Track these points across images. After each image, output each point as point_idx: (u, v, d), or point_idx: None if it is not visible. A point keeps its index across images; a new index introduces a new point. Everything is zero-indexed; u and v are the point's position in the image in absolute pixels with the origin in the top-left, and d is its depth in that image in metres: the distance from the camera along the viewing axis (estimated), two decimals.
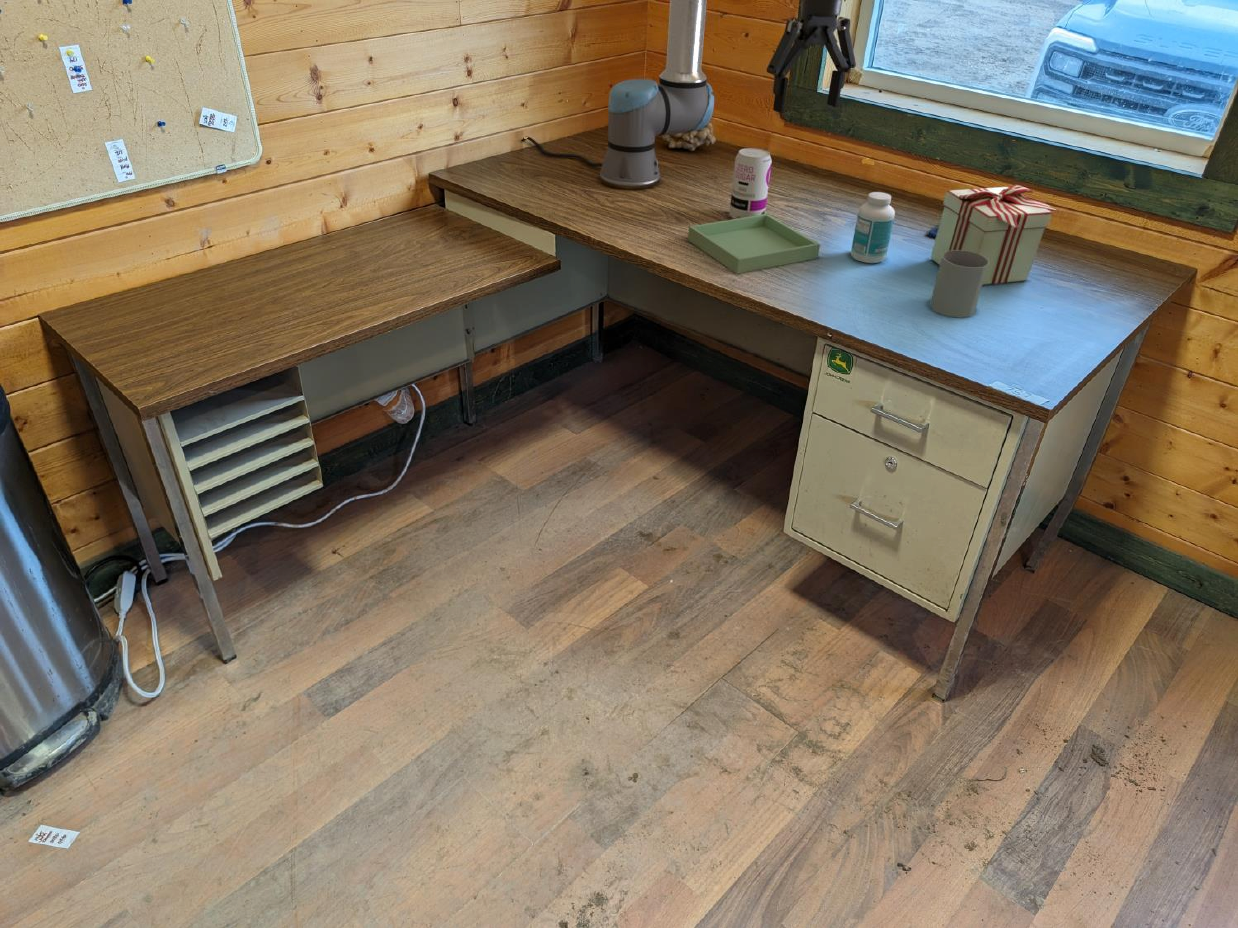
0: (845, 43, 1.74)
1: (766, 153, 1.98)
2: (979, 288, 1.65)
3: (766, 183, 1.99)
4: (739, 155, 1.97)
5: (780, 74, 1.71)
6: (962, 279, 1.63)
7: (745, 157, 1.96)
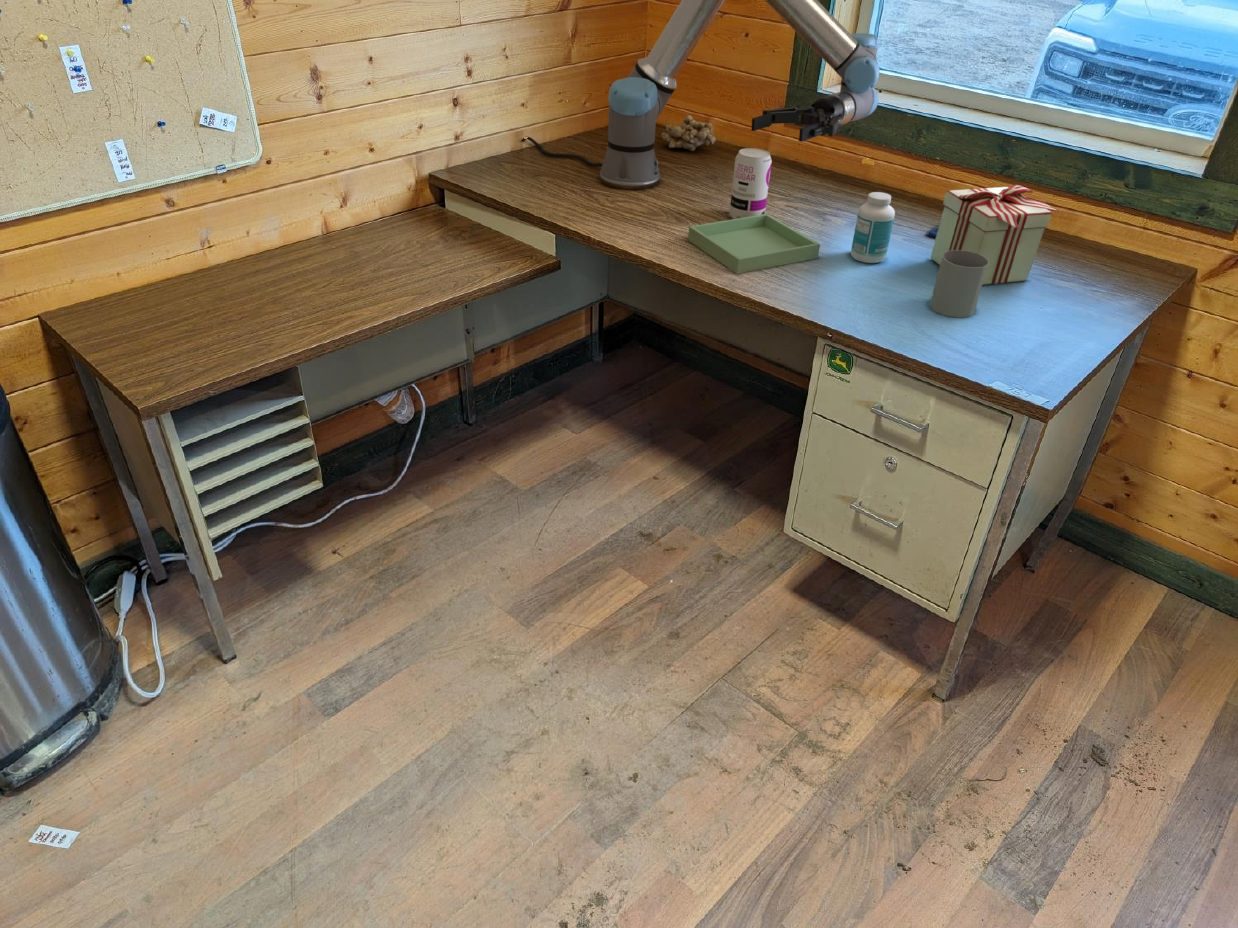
0: None
1: (766, 153, 1.98)
2: (979, 288, 1.65)
3: (766, 183, 1.99)
4: (739, 155, 1.97)
5: None
6: (962, 279, 1.63)
7: (745, 157, 1.96)
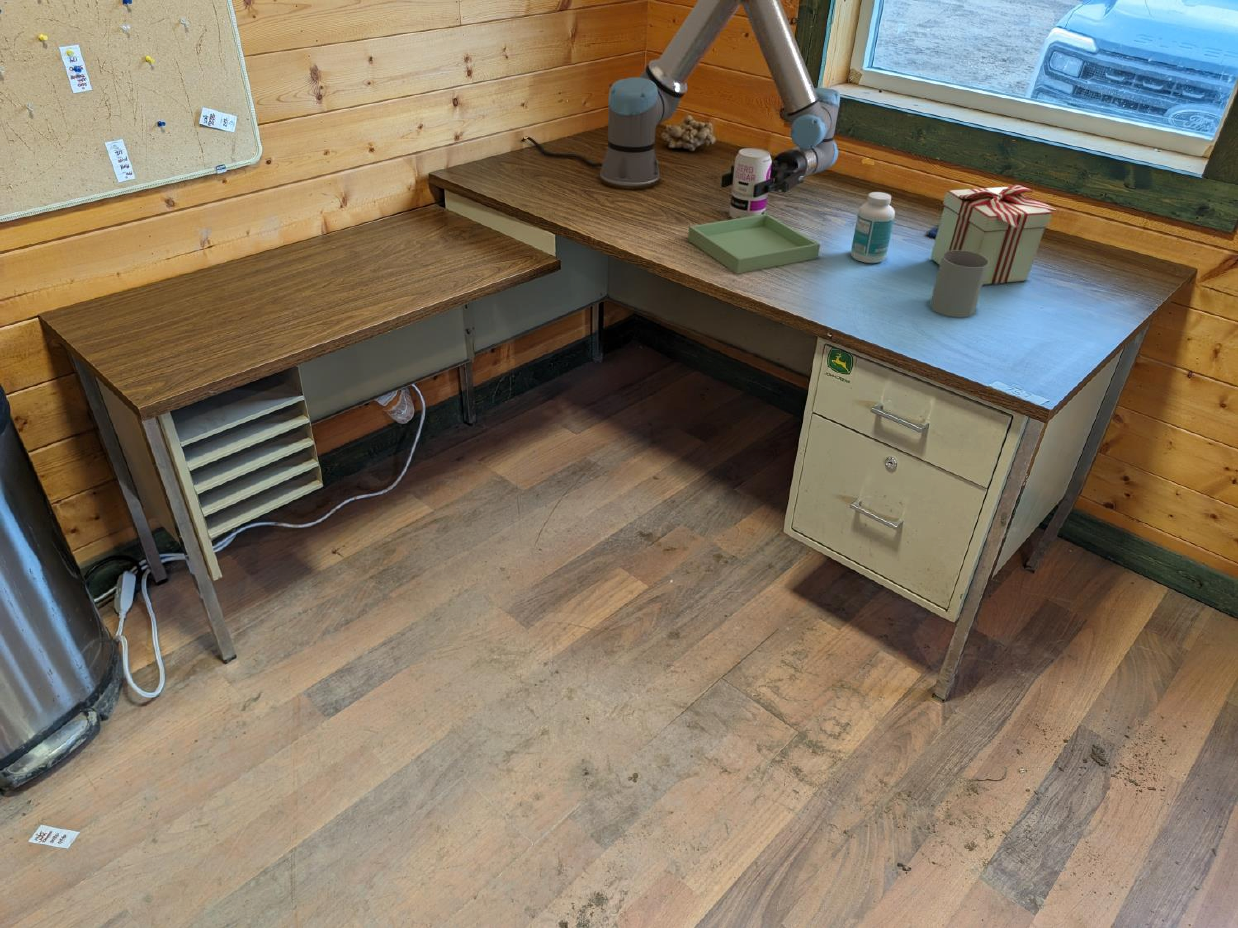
0: None
1: (766, 153, 1.98)
2: (979, 288, 1.65)
3: None
4: (739, 155, 1.97)
5: (777, 190, 2.00)
6: (962, 279, 1.63)
7: (745, 157, 1.96)
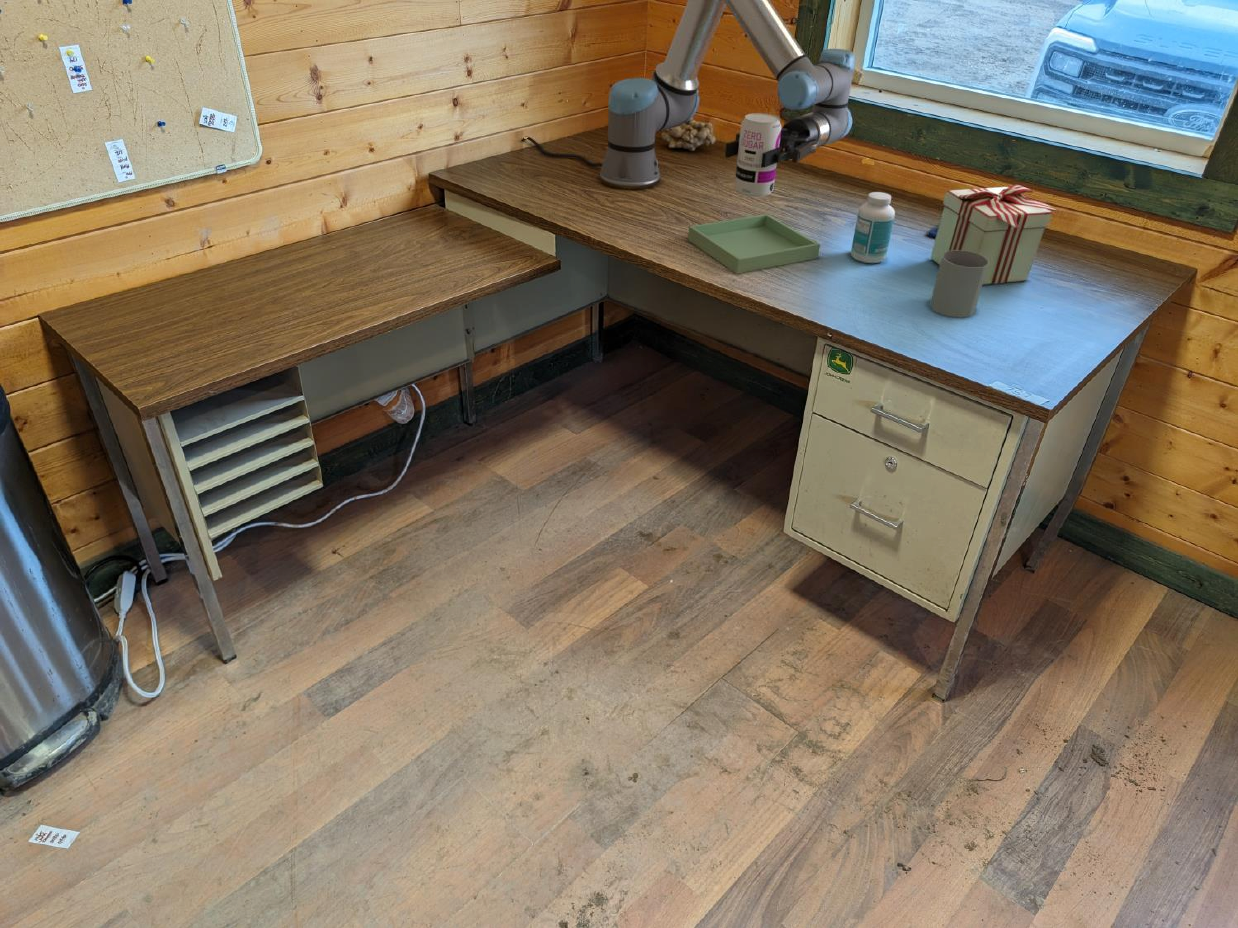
0: None
1: (775, 118, 1.79)
2: (979, 288, 1.65)
3: None
4: (746, 120, 1.77)
5: (788, 159, 1.81)
6: (962, 279, 1.63)
7: (752, 122, 1.76)
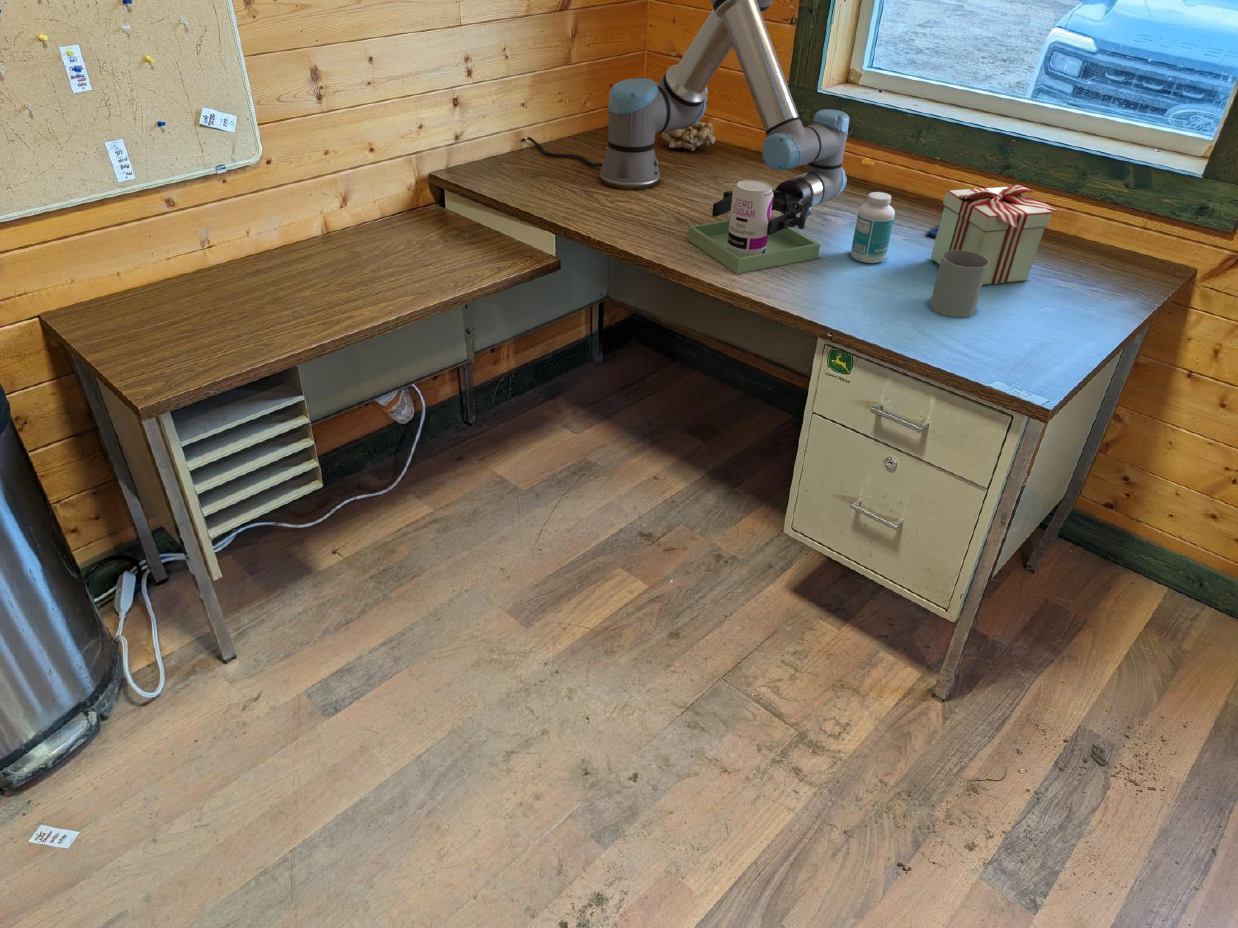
0: None
1: (767, 186, 1.78)
2: (979, 288, 1.65)
3: (767, 219, 1.79)
4: (737, 188, 1.77)
5: (794, 225, 1.80)
6: (962, 279, 1.63)
7: (744, 191, 1.75)
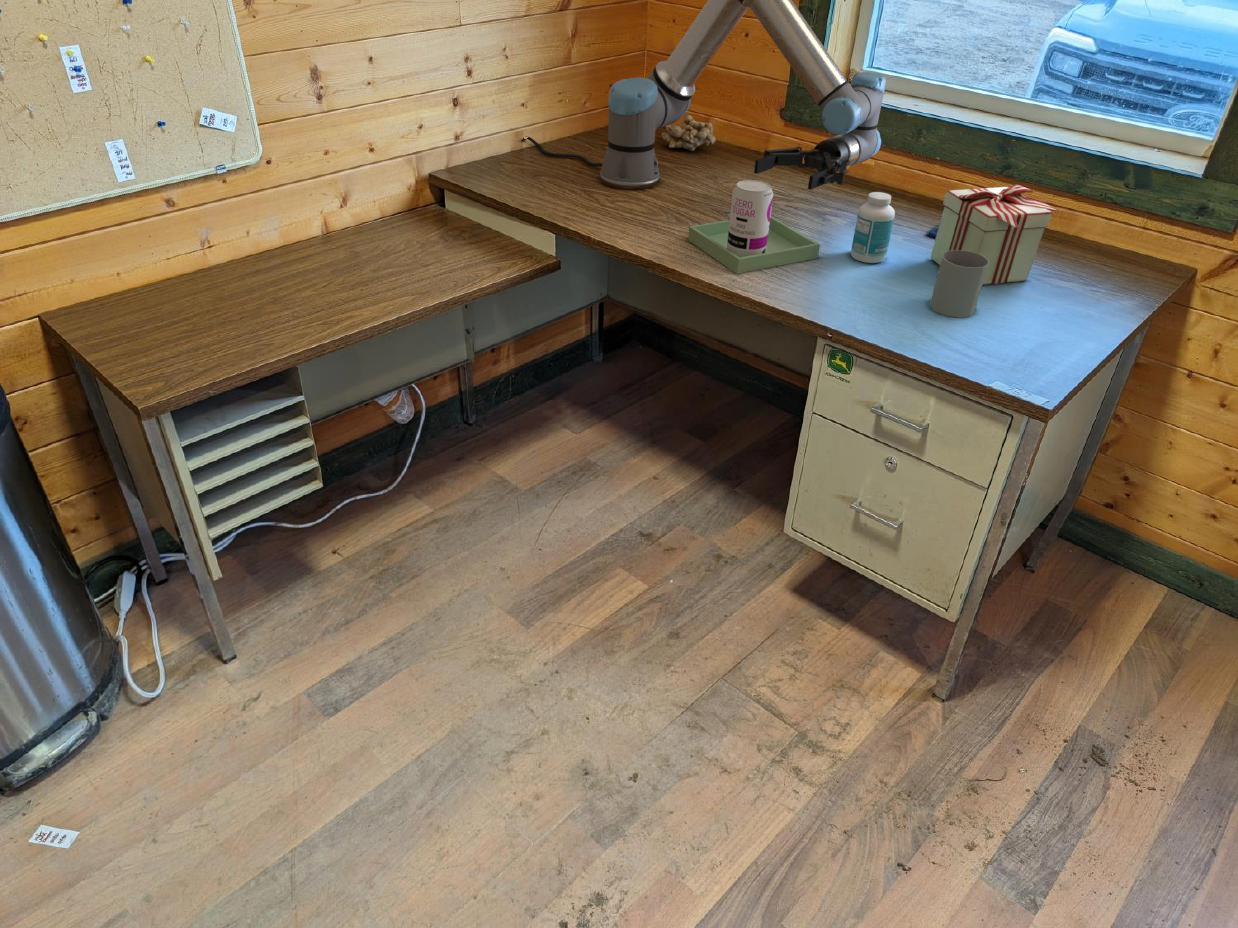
0: None
1: (767, 186, 1.78)
2: (979, 288, 1.65)
3: (767, 219, 1.79)
4: (737, 188, 1.77)
5: (833, 181, 1.87)
6: (962, 279, 1.63)
7: (744, 191, 1.75)
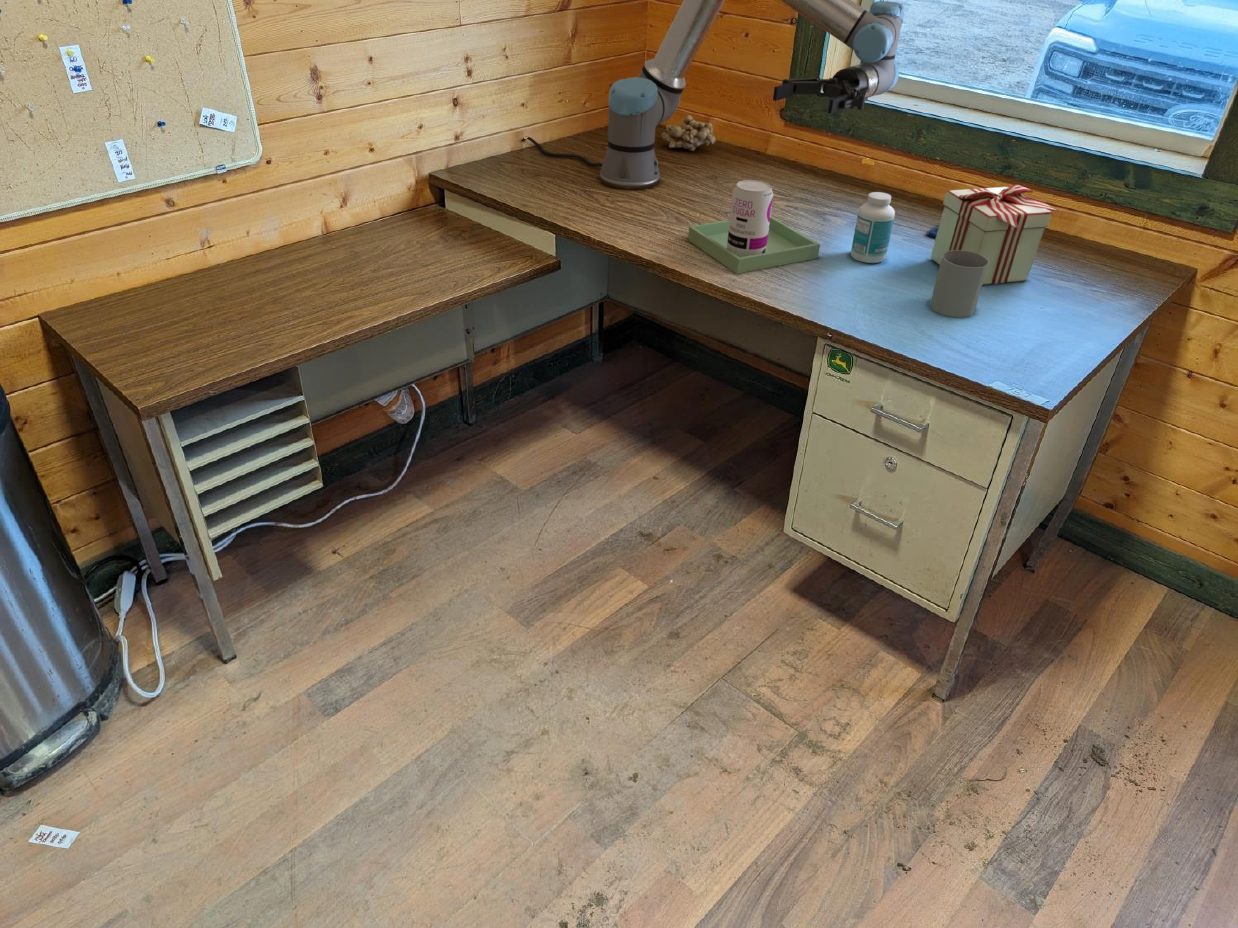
0: None
1: (767, 186, 1.78)
2: (979, 288, 1.65)
3: (767, 219, 1.79)
4: (737, 188, 1.77)
5: (853, 107, 1.86)
6: (962, 279, 1.63)
7: (744, 191, 1.75)
